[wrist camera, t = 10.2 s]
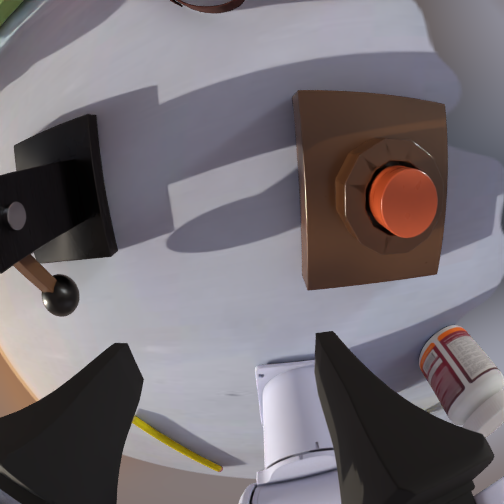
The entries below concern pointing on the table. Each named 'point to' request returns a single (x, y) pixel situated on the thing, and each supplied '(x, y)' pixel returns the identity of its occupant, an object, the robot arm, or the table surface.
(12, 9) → the edible corn
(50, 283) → the lever
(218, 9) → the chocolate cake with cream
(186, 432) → the table surface
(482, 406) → the pill bottle
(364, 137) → the button block
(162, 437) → the pencil
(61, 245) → the lever stand
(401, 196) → the press button
